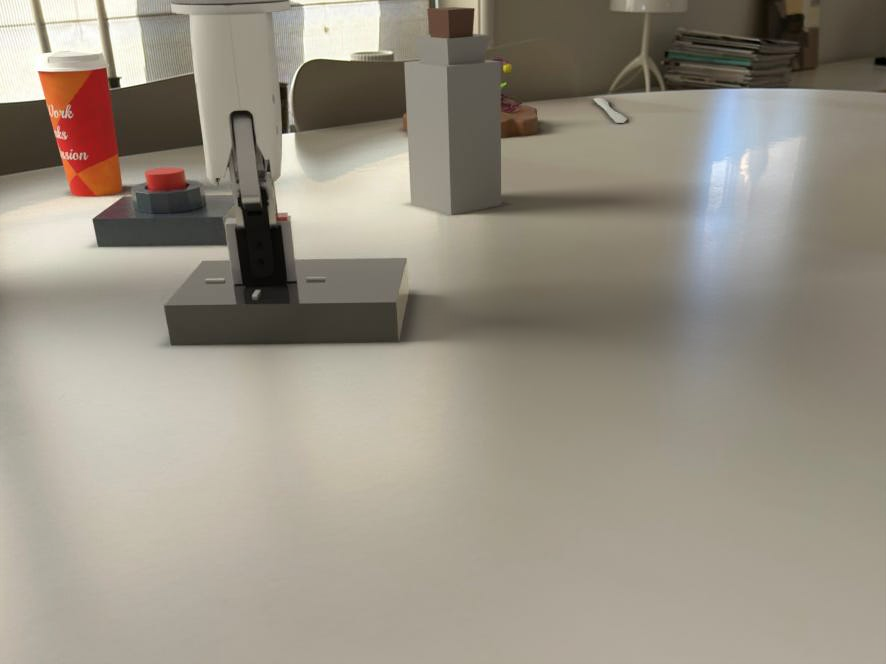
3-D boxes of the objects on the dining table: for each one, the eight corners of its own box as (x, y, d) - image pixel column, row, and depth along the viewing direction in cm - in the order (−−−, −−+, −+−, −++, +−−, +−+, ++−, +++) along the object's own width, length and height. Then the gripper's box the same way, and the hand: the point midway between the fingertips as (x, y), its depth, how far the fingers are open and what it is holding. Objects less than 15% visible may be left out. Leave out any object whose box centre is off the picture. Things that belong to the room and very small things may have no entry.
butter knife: (610, 97, 179) (592, 96, 179) (631, 122, 156) (611, 122, 156) (609, 100, 179) (592, 100, 179) (631, 127, 157) (611, 126, 157)
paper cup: (57, 191, 122) (26, 52, 114) (124, 184, 125) (99, 48, 117) (68, 203, 116) (36, 58, 108) (139, 196, 119) (113, 54, 111)
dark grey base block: (171, 348, 74) (163, 303, 73) (208, 299, 84) (201, 258, 83) (398, 345, 74) (395, 299, 72) (408, 296, 84) (406, 255, 82)
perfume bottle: (411, 206, 112) (401, 9, 102) (460, 197, 116) (456, 5, 106) (451, 217, 108) (445, 11, 98) (501, 207, 111) (500, 7, 101)
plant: (411, 120, 164) (407, 37, 158) (537, 118, 164) (538, 35, 157) (397, 141, 148) (392, 49, 141) (537, 140, 147) (539, 47, 141)
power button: (143, 194, 99) (140, 174, 98) (153, 187, 102) (150, 167, 101) (182, 194, 99) (179, 173, 98) (191, 186, 102) (188, 166, 101)
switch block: (98, 249, 99) (87, 198, 96) (128, 224, 107) (119, 177, 104) (226, 247, 98) (219, 195, 96) (246, 223, 107) (240, 175, 104)
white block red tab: (233, 284, 77) (223, 220, 74) (234, 278, 78) (225, 214, 76) (297, 281, 77) (290, 217, 75) (297, 274, 79) (290, 211, 76)
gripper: (179, -18, 73) (219, 256, 84) (155, -9, 60) (206, 315, 71) (288, -21, 74) (315, 251, 85) (288, -12, 61) (319, 308, 72)
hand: (265, 278), depth 78 cm, fingers closed on white block red tab
